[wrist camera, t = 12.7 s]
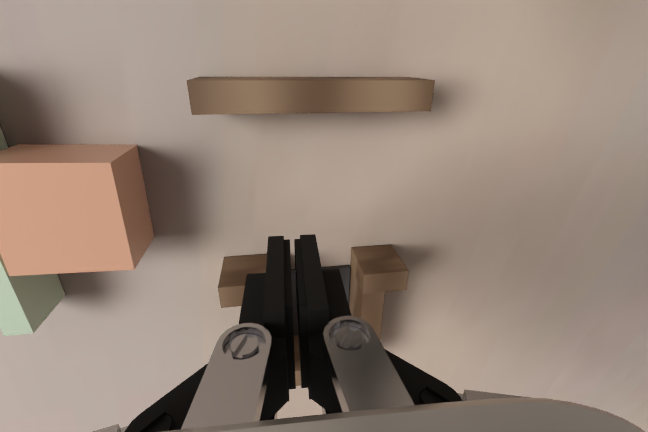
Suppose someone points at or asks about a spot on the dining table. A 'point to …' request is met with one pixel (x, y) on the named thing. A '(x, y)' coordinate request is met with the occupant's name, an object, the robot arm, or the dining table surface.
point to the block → (72, 209)
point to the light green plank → (26, 295)
